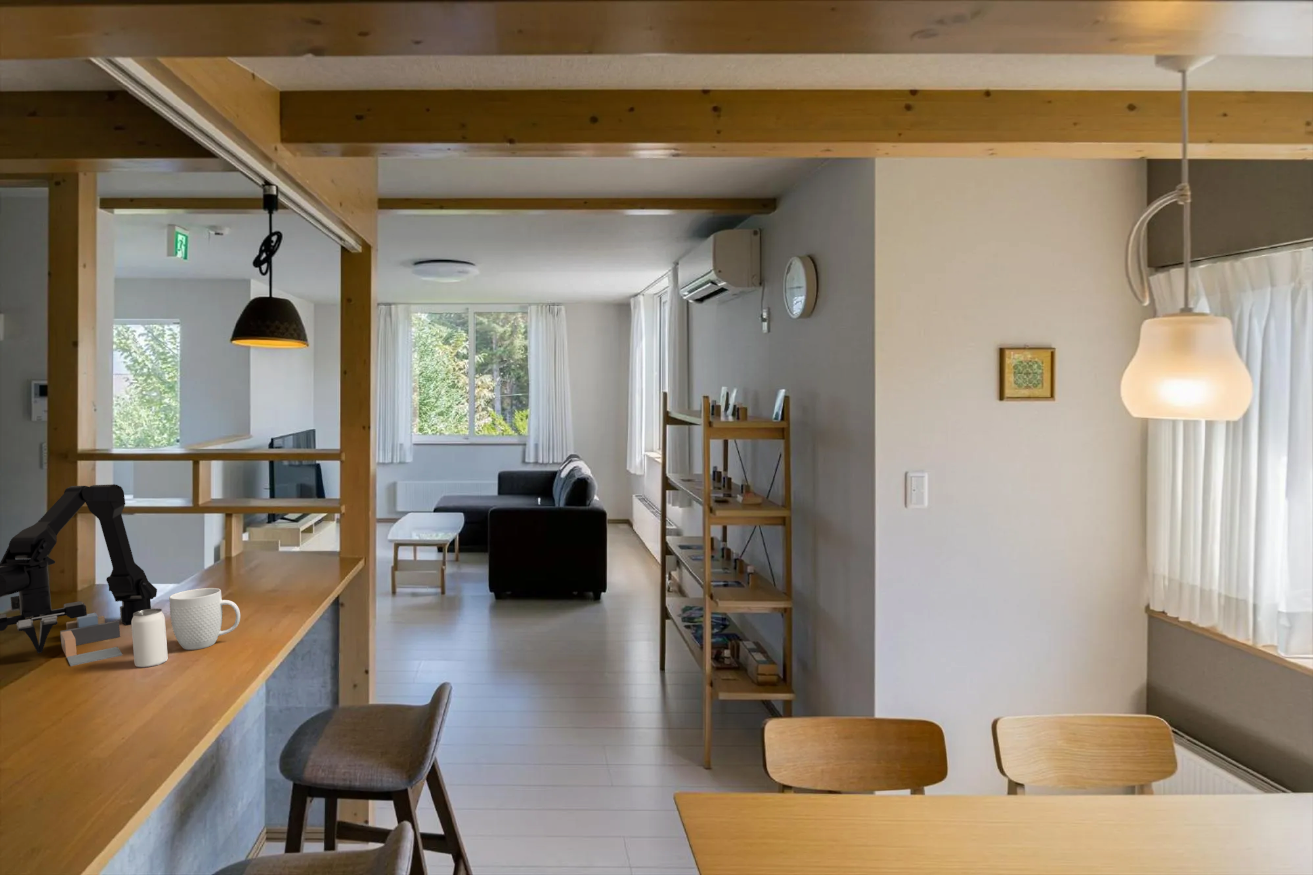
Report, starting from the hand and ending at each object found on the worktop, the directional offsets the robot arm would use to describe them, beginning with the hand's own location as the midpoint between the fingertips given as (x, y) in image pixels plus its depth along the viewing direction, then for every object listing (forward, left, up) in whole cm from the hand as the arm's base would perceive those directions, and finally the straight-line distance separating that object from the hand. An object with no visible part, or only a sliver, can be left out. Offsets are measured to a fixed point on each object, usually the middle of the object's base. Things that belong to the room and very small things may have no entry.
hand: (39, 652), depth 187 cm
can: (-19, +24, -2) cm, 30 cm away
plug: (-11, -13, -2) cm, 17 cm away
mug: (-31, +18, -2) cm, 35 cm away
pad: (-10, +8, -2) cm, 12 cm away
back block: (-11, -18, -2) cm, 21 cm away
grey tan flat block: (-11, -3, -2) cm, 11 cm away
